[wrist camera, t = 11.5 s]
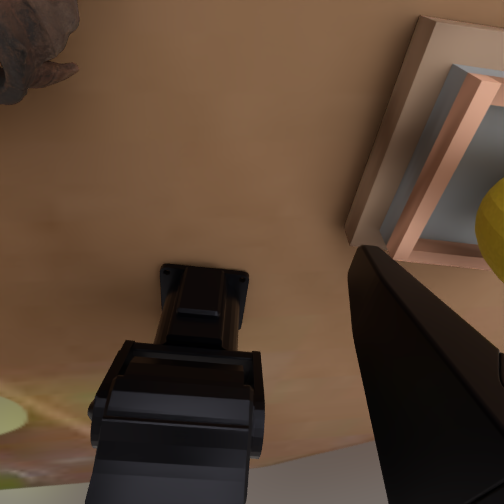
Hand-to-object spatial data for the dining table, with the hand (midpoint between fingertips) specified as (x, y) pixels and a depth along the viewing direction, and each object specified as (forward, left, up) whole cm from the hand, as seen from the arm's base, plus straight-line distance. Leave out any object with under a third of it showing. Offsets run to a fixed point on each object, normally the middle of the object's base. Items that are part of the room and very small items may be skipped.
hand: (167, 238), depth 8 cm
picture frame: (-2, -15, -13) cm, 20 cm away
